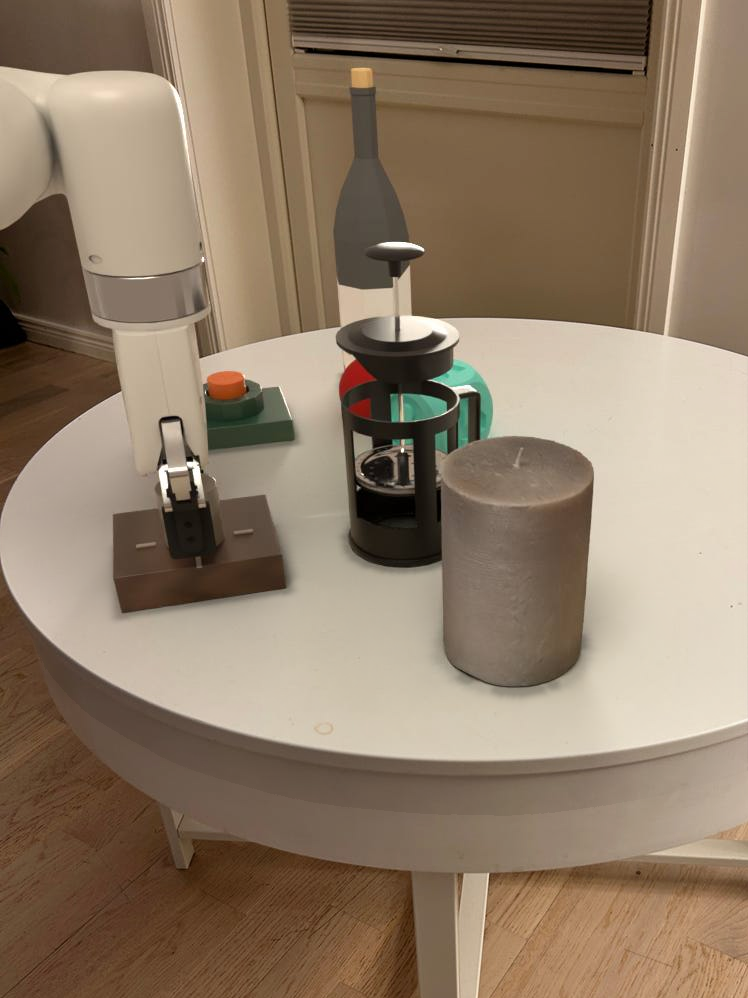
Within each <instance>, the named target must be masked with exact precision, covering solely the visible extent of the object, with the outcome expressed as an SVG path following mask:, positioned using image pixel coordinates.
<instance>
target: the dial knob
mask: <svg viewBox="0 0 748 998" xmlns="http://www.w3.org/2000/svg"><path fill="white" fill-rule="evenodd" d="M201 478H202V484H203V491H204V497H205V501H209V504H210V510H211V516H212V522H213V529H214V535H215V541H216V546H218V545H219V544H221V543H222V541H223V540H224V538H225V532H224V526H223V520H222V514H221V508H220V502H219V500H220V495H219V490H218V483H217V480H216V479H215V478H214V476H212V475H209V474H207V473H204V474H203V473H201ZM189 479H190V481H193V482H194V477H193V474H189ZM168 482H169V484H171V482H170V477H168ZM154 493H155V498H156V504H157V508H158V509H159V514H160V519H161V524H162V528H163V533H164V538H165V543H166V545H167V547H168V548H169V546H168V540H167V535H166V530H165V525H164V520H163V515H162V509H161V506H164V503H163V497H162V491H161V485H160V481H158V482H157V483H156V485H155V487H154ZM196 498H197V497H196Z"/></svg>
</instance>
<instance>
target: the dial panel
mask: <svg viewBox="0 0 748 998" xmlns="http://www.w3.org/2000/svg"><path fill="white" fill-rule="evenodd" d="M219 502H220V508H221V514H222V520H223V526H224V532H225V538H224V540H223V541H222V543H221V544H219V545H218V546H216V547H217V551H216V553H215V554H213V555H206V556H199V557H191V558H184V559H173V558H172V557H171V556H170V551H169V548H168V547H167V545H166V543H165V538H164V533H163V528H162V524H161V519H160V514H159V509H158V507H156V508H148V509H142V510H133V511H127V512H119V513H117V512H116V513H112V568H113V569H112V577H113V583H114V587H115V591H116V596H117V600H118V603H119V608H120V612H121V613H129V612H134V611H135V612H136V611H142V610H143V611H144V610H149V609H155V608H162V607H168V606H174V605H175V606H176V605H183V604H188V603H189V604H190V603H195V602H201V601H208V600H215V599H223V598H229V597H234V596H242V595H247V594H255V593H261V592H268V591H275V590H282V589H286V588H287V582H286V575H285V566H284V558H283V553H282V548H281V545H280V541H279V538H278V535H277V531H276V527H275V524H274V523H275V522H274V520H273V516H272V512H271V508H270V505H269V502H268V498H267V495H266V494H258V495H251V496H243V497H236V498H234V497H233V498H227V499H219Z"/></svg>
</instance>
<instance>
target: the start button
mask: <svg viewBox="0 0 748 998" xmlns="http://www.w3.org/2000/svg"><path fill="white" fill-rule="evenodd" d="M245 377H246V376H245V375H244V374H243V373H241V372H239V371H235V370H224V371H217V372H214V373H211V374H209V375H208V376H207V377H206V383H207V385H208V392H209V397H211V398H215V399H233V398H237V397H240V396H243V395H246V394H247V391H246V384H245V380H246V378H245Z"/></svg>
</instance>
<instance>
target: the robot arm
mask: <svg viewBox="0 0 748 998" xmlns="http://www.w3.org/2000/svg"><path fill="white" fill-rule="evenodd" d="M184 118H185V117H184V113H183V107H182V103H181V99H180V96H179V94H178V92H177V90H176V88H175V87H174V86H173V85H172V83H171V82H170V81H169V80H167V79H166V78H164V77H163V76H160V75H158V74H156V73H151V72H145V71H136V70H95V71H94V70H93V71H85V72H78V73H72V74H59V73H51V72H50V73H49V72H41V71H35V70H29V69H23V68H22V69H21V68H15V67H9V66H1V65H0V231H1V230H4V229H6V228H8V227H10V226H11V225H13V224H14V223H16V222H17V221H18V220H20V219H21V218H22V217H23V216H24V214H26V213H27V212H28V211H29V210H30V208H31V207H33V205H34V204H37V203H38V202H40V201H42V200H44V199H47V198H48V197H50V196H53V195H60V194H63V195H64V196H65V197H66V200H67V203H68V204H67V205H68V208H69V213H70V218H71V222H72V226H73V231H74V236H75V241H76V246H77V250H78V255H79V261H80V264H81V269H82V274H83V278H84V284H85V288H86V293H87V297H88V304H89V307H90V312H91V316H92V317H91V318H92V320H93V322H94V323H96V324H97V325H98V326H101V327H103V328H106V329H110V330H111V333H112V335H111V336H112V342H113V343H112V344H113V351H114V355H115V356H114V357H115V363H116V369H117V374H118V379H119V384H120V391H121V395H122V402H123V405H124V410H125V415H126V420H127V426H128V430H129V437H130V441H131V446H132V452H133V457H134V464H135V469H136V470H135V471H136V472H137V473H138V474H139V475H140V476H141V477H144V478H146V477H148V475H149V474H150V475H151V474H156V473H157V474H158V477H159V482H160V485H161V491H162V497H163V503H164V506H161V509H162V515H163V520H164V525H165V530H166V535H167V540H168V546H169V551H170V556H171V557H172V558H173V559H184V558H191V557H199V556H206V555H213V554H215V553H216V551H217V547H216V541H215V535H214V529H213V522H212V516H211V510H210V504H209V501H205V497H204V491H203V484H202V478H201V473H203V474H205V472H204V469H205V468H207V466H208V465H209V463H210V462H209V450H208V439H207V422H206V410H205V399H204V390H203V384H204V383H203V376H202V367H201V360H200V353H199V345H198V340H197V339H198V338H197V332H196V325H195V323H197V322H199V321H202V320H203V319H205V318H207V317H208V315H210V314H211V311H212V307H211V300H210V294H209V287H208V280H207V272H206V266H205V259H204V252H203V244H202V237H201V232H200V223H199V218H198V211H197V203H196V196H195V188H194V181H193V175H192V174H193V173H192V167H191V160H190V154H189V153H190V152H189V146H188V140H187V132H186V125H185V120H184ZM189 474H193V477H194V482H193V481H190V479H189ZM168 477H170V482H171V484H169V482H168ZM196 497H197V498H196Z"/></svg>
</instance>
